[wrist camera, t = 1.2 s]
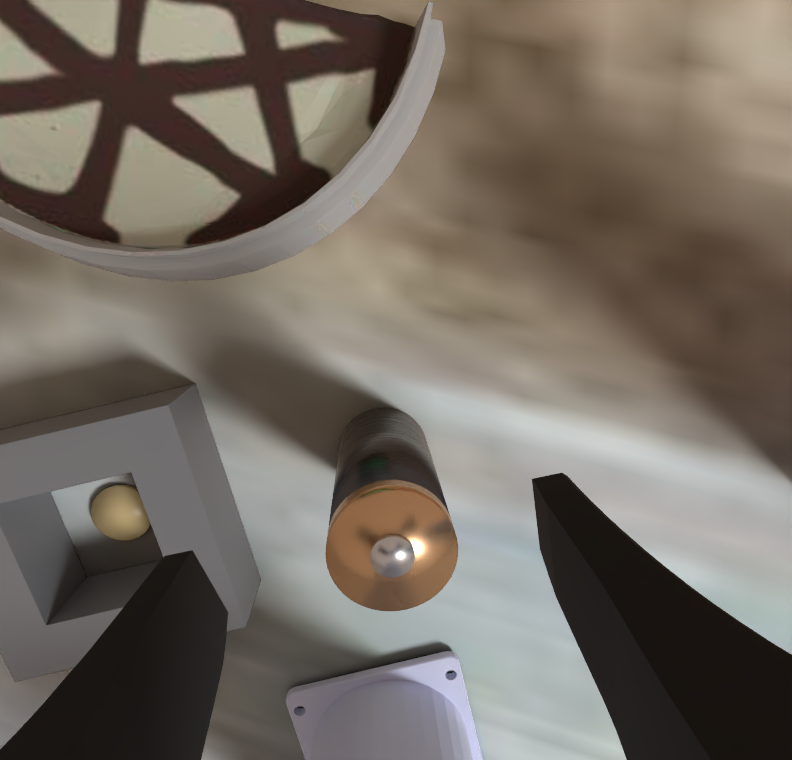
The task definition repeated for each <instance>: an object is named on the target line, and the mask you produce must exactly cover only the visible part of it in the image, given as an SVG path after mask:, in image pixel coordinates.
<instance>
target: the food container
mask: <svg viewBox="0 0 792 760" xmlns="http://www.w3.org/2000/svg"><path fill="white" fill-rule="evenodd" d="M432 6H433V3H432V2H428V4H427V6H426V8H425V9H424V11H423V13H422V15H421V17H420V19H419V21H418V23H417V24H416V26H415V27H412V26H409V25H406V24H403V23H398V22H394V21H391V20H389V19H386V18H384V17H381V16H379V15H368V14H359V13H354V12H349V11H344V10H340V9H335V8H331V7H327V6H324V5H320V4H316V3H312V2H309V1H305V0H0V228H1V229H3V230H5V231H6V232H9V233H11V234H13V235H15V236H18V237H20V238H22V239H25V240H27V241H29V242H31V243H34V244H36V245H38V246H40V247H43V248H45V249H47V250H50V251H52V252H54V253H57V254H60V255H62V256H65V257H67V258H70V259H73V260H75V261H78V262H80V263H83V264H86V265H89V266H93V267H97V268H100V269H104V270H108V271H111V272H115V273H119V274H122V275H126V276H131V277H140V278H149V279H157V280H166V281H187V280H210V279H218V278H223V277H228V276H233V275H237V274H242V273H247V272H252V271H256V270H258V269H261V268H264V267H266V266H269V265H271V264H274V263H277V262H279V261H282V260H284V259H287V258H290V257H292V256H294V255H296V254H298V253H299V252H301V251H303V250H305V249H306V248H308V247H310V246H311V245H313V244H315V243H316V242H318V241H320V240H322V239H323V238H325V237H327V236H328V235H330V234H331V233H332V232H333V231H335V230H336V229H337V228H338V227H339V226H341V225H342V224H343V223H344V222H345V221H347V220H348V219H349V218H350V217H351V216H353V215H354V214H355V213H356V212H357V211H359V210H360V209H361V208H362V207H363V206H364V205H365V204H366V203H367V201H368V200H369V199H370V198H371V197H372V196H373V195H374V193H375V192H376V191H377V190H378V189H379V188H380V186H381V185H382V184H383V183H384V182H385V181H386V180H387V178H388V177H389V176H390V175H391V173H392V172H393V170H394V169H395V167H396V166H397V164H398V162H399V161H400V159H401V158H402V156H403V154H404V153H405V151H406V150H407V148H408V146H409V145H410V143H411V142H412V140H413V138H414V137H415V135H416V132H417V130H418V128H419V126H420V123H421V121H422V119H423V116H424V114H425V112H426V110H427V107H428V105H429V103H430V100H431V98H432V96H433V93H434V90H435V87H436V83H437V79H438V76H439V72H440V68H441V65H442V61H443V58H444V54H445V42H444V33H443V24H442V21H440V20H436V19H431V13H432Z"/></svg>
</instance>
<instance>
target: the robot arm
mask: <svg viewBox="0 0 792 760" xmlns="http://www.w3.org/2000/svg"><path fill="white" fill-rule="evenodd" d="M532 483H533V492H534V501H535V509H536V518H537V527H538V535H539V544H540V550H541V553H542V556H543V559H544V562H545V565H546V568H547V572H548V575H549V577H550V580H551V583H552V586H553V589H554V592H555V595H556V597H557V600H558V602H559V604H560V606H561V609H562V611H563V613H564V615H565V617H566V620H567V622H568V624H569V626H570V628H571V631H572V633H573V635H574V637H575V639H576V641H577V644H578V646H579V648H580V650H581V652H582V654H583V657H584V659H585V661H586V663H587V665H588V667H589V670H590V672H591V674H592V676H593V678H594V681H595V683H596V685H597V687H598V689H599V691H600V694H601V696H602V698H603V700H604V702H605V704H606V707H607V709H608V712H609V714H610V716H611V719H612V721H613V724H614V726H615V728H616V731H617V734H618V736H619V739H620V742H621V745H622V747H623V750H624V753H625V756H626V758H627V760H792V655H791V654H790V653H788V652H786V651H784V650H783V649H781V648H779V647H778V646H776V645H775V644H773V643H771V642H770V641H768V640H767V639H765V638H764V637H762V636H761V635H759V634H758V633H756V632H755V631H753V630H752V629H750V628H749V627H747V626H745V625H744V624H742V623H741V622H739V621H738V620H736V619H735V618H734V617H732V616H731V615H729V614H728V613H726V612H725V611H723V610H722V609H721V608H719V607H718V606H716V605H715V604H713V603H712V602H711V601H709V600H708V599H707V598H705V597H704V596H702V595H701V594H700V593H698V592H697V591H696V590H694V589H693V588H692V587H690V586H689V585H688V584H686V583H685V582H684V581H682V580H681V579H680V578H679V577H677V576H676V575H675V574H674V573H672V572H671V571H670V570H669V569H667V568H666V567H665V566H663V565H662V564H661V563H660V562H659V561H657V560H656V559H655V558H654V557H653V556H651V555H650V554H649V553H648V552H646V551H645V550H644V549H643V548H642V547H641V546H640V545H638V544H637V543H636V542H635V541H634V540H633V539H632V538H630V537H629V536H628V535H627V534H626V533H625V532H624V531H622V530H621V529H620V528H619V527H618V526H617V525H616V524H615V523H614V522H613V521H611V520H610V519H609V518H608V517H607V516H606V515H605V514H604V513H603V512H602V511H601V510H600V509H599V508H598V507H597V506H596V505H595V504H594V503H593V502H592V501H591V500H590V499H589V498H588V497H587V496H586V495H585V494H584V493H583V492H582V491H581V490H580V489H579V488H578V487H577V486H576V485H575V484H574V483H573V482H572V481H571V480H570V478H569V477H568V476H566V475H565V474H563V473H559V474H554V475H549V476H544V477H539V478H535V479H532ZM227 621H228V611H227V609H226V607H225V606H224V604H223V602H222V600H221V599H220V597H219V595H218V593H217V592H216V590H215V588H214V587H213V585H212V583H211V581H210V580H209V578H208V576H207V574H206V573H205V571H204V569H203V567H202V566H201V564H200V562H199V560H198V559H197V557H196V555H195V553H194V552H193V550H191V551H186V552H181V553H176V554H172V555H167V556H164V558H163V559H162V560H161V561H160V562H159V563H158V565H157V566H156V567H155V568H154V569H153V571H152V572H151V573H150V574H149V576H148V577H147V578H146V579H145V581H144V582H143V583H142V584H141V586H140V587H139V588H138V590H137V591H136V592H135V593H134V595H133V596H132V597H131V598H130V600H129V601H128V602H127V604H126V605H125V606H124V607H123V609H122V610H121V611H120V612H119V614H118V615H117V616H116V617H115V619H114V620H113V621H112V622H111V624H110V625H109V626H108V627H107V629H106V630H105V631H104V632H103V634H102V635H101V636H100V637H99V639H98V640H97V641H96V642H95V644H94V645H93V646H92V647H91V649H90V650H89V651H88V652H87V653H86V655H85V656H84V657H83V658H82V659H81V660H80V662H79V663H78V664H77V665H76V666H75V667H74V669H73V670H72V671H71V672H70V673H69V674H68V676H67V677H66V678H65V679H64V680H63V681H62V683H61V684H60V685H59V686H58V687H57V688H56V690H55V691H54V692H53V693H52V694H51V695H50V697H49V698H48V699H47V700H46V701H45V702H44V704H43V705H42V706H41V707H40V708H39V709H38V710H37V711H36V712H35V713H34V715H33V716H32V717H31V718H30V719H29V720H28V721H27V722H26V723H25V724H24V725H23V726H22V728H21V729H20V730H19V731H18V732H17V733H16V734H15V735H14V736H13V737H12V738H11V739H10V740H9V741H8V742H7V743H6V744H5V745H4V746H3V747H2V748H1V749H0V760H201V757H202V753H203V748H204V744H205V740H206V736H207V731H208V727H209V723H210V719H211V714H212V710H213V706H214V701H215V697H216V692H217V688H218V684H219V679H220V675H221V670H222V665H223V659H224V651H225V643H226V633H227ZM450 670H453V671H454V672H453V673H446V672H447V671H450ZM286 705H287V708H288V711H289V714H290V717H291V720H292V723H293V725H294V728H295V731H296V734H297V737H298V740H299V743H300V746H301V749H302V752H303V755H304V758H305V760H483V758H482V754H481V750H480V746H479V742H478V738H477V734H476V729H475V725H474V721H473V717H472V713H471V709H470V704H469V700H468V696H467V692H466V688H465V684H464V679H463V675H462V671H461V667H460V663H459V659H458V656H457V654H455V653H454V652H451V651H445V652H441V653H436V654H432V655H428V656H424V657H419V658H415V659H411V660H407V661H403V662H398V663H394V664H390V665H386V666H381V667H377V668H373V669H369V670H365V671H360V672H356V673H352V674H348V675H343V676H339V677H335V678H331V679H327V680H322V681H318V682H314V683H310V684H305V685H301V686H297V687H294V688H291V689H290V690H289V691H288V693H287V696H286ZM298 706H302V707H304V708H301V709H299V708H297V707H298Z"/></svg>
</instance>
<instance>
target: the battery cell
mask: <svg viewBox="0 0 792 760" xmlns="http://www.w3.org/2000/svg"><path fill="white" fill-rule="evenodd" d="M457 557H458V543H457V537H456V534H455V531H454V528H453V524H452V521H451V518H450V515H449V512H448V508H447V505H446V502H445V499H444V496H443V492H442V489H441V486H440V483H439V480H438V477H437V473H436V470H435V467H434V464H433V461H432V457H431V454H430V451H429V448H428V445H427V441H426V438H425V435H424V433H423V431H422V429H421V427H420V426H419V424H418V423H417V422H416V421H415V420H414V419H413V418H412V417H410V416H409V415H407V414H406V413H404V412H402V411H399V410H396V409H391V408H377V409H372V410H369V411H366V412H364V413H362V414H360V415H359V416H357V417H356V418H355V419H353V420H352V421H351V422H350V423H349V425H348V426H347V427H346V429H345V431H344V433H343V435H342V438H341V441H340V447H339V455H338V462H337V470H336V477H335V485H334V492H333V500H332V507H331V514H330V522H329V529H328V537H327V544H326V562H327V567H328V570H329V573H330V576H331V578H332V579H333V581H334V583H335V584H336V586H337V587H338V588H339V589H340V590H341V591H342V593H343V594H344V595H346V596H347V597H348V598H350V599H351V600H352V601H354V602H356V603H358V604H360V605H362V606H364V607H367V608H371V609H374V610H380V611H400V610H405V609H409V608H413V607H416V606H418V605H420V604H423V603H424V602H426V601H428V600H430V599H431V598H432V597H434V596H435V595H436V594H437V593H439V592H440V591H441V590H442V589H443V587H444V586H445V585H446V584H447V582H448V581H449V579H450V578H451V576H452V574H453V572H454V569H455V566H456V563H457Z"/></svg>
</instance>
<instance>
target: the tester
mask: <svg viewBox="0 0 792 760" xmlns="http://www.w3.org/2000/svg"><path fill="white" fill-rule="evenodd" d="M130 472H131V473H132V476H133V479H134V481H135V484H136V487H137V488H134V487H132V486H128V485H114V486H111V487H108V488H106V489H104V490H103V491H102V492H101V493H99V494H98V495H97V497H96V498H95V499H94V501H93V503H92V507H91V516H92V519H93V522H94V524H95V526H96V527H97V528H98V529H99V530H100V531H101V532H102V533H103V534H104V535H106V536H108V537H110V538H112V539H116V540H123V541H125V540H132V539H135V538H138V537H140V536H141V535H142V534H144V533H145V532H146V531H147V529H148V528H149V527H150V525H151V526H152V529H153V531H154V534H155V536H156V539H157V542H158V544H159V547H160V550H161V552H162V555H163V557H164V556H167V555H172V554H176V553H181V552H186V551H191V550H193V552H194V553H195V555H196V557H197V559H198V560H199V562H200V564H201V566H202V567H203V569H204V571H205V573H206V574H207V576H208V578H209V580H210V581H211V583H212V585H213V587H214V588H215V590H216V592H217V593H218V595H219V597H220V599H221V600H222V602H223V604H224V606H225V607H226V609H227V611H228V621H227V632H228V631H232V630H236V629H240V628H244V627H246V626H247V623H248V620H249V616H250V613H251V610H252V607H253V604H254V601H255V597H256V594H257V591H258V588H259V585H260V582H261V578H260V575H259V572H258V569H257V566H256V563H255V560H254V557H253V554H252V551H251V548H250V545H249V542H248V539H247V536H246V533H245V530H244V527H243V524H242V521H241V518H240V515H239V512H238V509H237V506H236V503H235V500H234V497H233V494H232V491H231V488H230V485H229V482H228V479H227V476H226V473H225V470H224V467H223V464H222V462H221V459H220V456H219V453H218V450H217V447H216V444H215V441H214V438H213V435H212V432H211V429H210V426H209V423H208V420H207V417H206V414H205V411H204V408H203V405H202V402H201V399H200V396H199V393H198V390H197V387H196V384H191V385H187V386H183V387H179V388H175V389H170V390H166V391H162V392H158V393H154V394H149V395H145V396H141V397H137V398H133V399H128V400H124V401H120V402H116V403H112V404H107V405H103V406H99V407H95V408H91V409H86V410H82V411H78V412H74V413H70V414H65V415H61V416H57V417H53V418H49V419H44V420H40V421H36V422H32V423H28V424H23V425H19V426H15V427H11V428H7V429H2V430H0V653H1V655H2V657H3V659H4V661H5V663H6V665H7V667H8V669H9V671H10V673H11V675H12V677H13V679H14V681H15V682H17V681H21V680H25V679H29V678H33V677H38V676H42V675H46V674H50V673H55V672H59V671H63V670H67V669H71V668H74V667H75V666H76V665H77V664H78V663H79V662H80V660H81V659H82V658H83V657H84V656H85V655H86V653H87V652H88V651H89V650H90V649H91V647H92V646H93V645H94V644H95V642H96V641H97V640H98V639H99V637H100V636H101V635H102V634H103V632H104V631H105V630H106V629H107V627H108V626H109V625H110V624H111V622H112V621H113V620H114V619H115V617H116V616H117V615H118V614H119V612H120V611H121V610H122V609H123V607H124V606H125V605H126V604H127V602H128V601H129V600H130V598H131V597H132V596H133V595H134V593H135V592H136V591H137V590H138V588H139V587H140V586H141V584H142V583H143V582H144V581H145V579H146V578H147V577H148V576H149V574H150V573H151V572H152V571H153V569H154V568H155V567H156V566H157V565H158V563H159V562H160V561H161V560H159V561H155V562H150V563H146V564H142V565H138V566H134V567H129V568H125V569H121V570H117V571H113V572H108V573H104V574H100V575H96V576H92V577H86V575H85V572H84V570H83V568H82V565H81V563H80V561H79V558H78V556H77V554H76V551H75V549H74V546H73V544H72V542H71V539H70V537H69V535H68V532H67V530H66V528H65V525H64V523H63V521H62V518H61V516H60V514H59V511H58V509H57V507H56V504H55V502H54V499H53V497H52V495H51V492H50V491H54V490H58V489H63V488H67V487H71V486H75V485H79V484H84V483H88V482H92V481H96V480H100V479H105V478H109V477H113V476H117V475H121V474H126V473H130Z"/></svg>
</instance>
